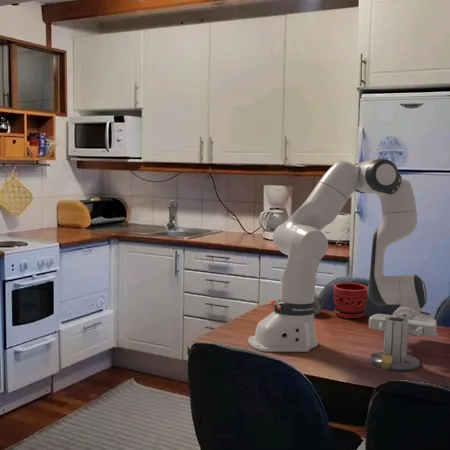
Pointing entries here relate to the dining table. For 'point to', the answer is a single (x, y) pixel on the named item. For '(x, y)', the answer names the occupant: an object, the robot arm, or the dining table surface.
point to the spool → (317, 304)
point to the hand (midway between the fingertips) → (398, 331)
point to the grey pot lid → (386, 362)
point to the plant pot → (350, 299)
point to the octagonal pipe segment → (396, 338)
